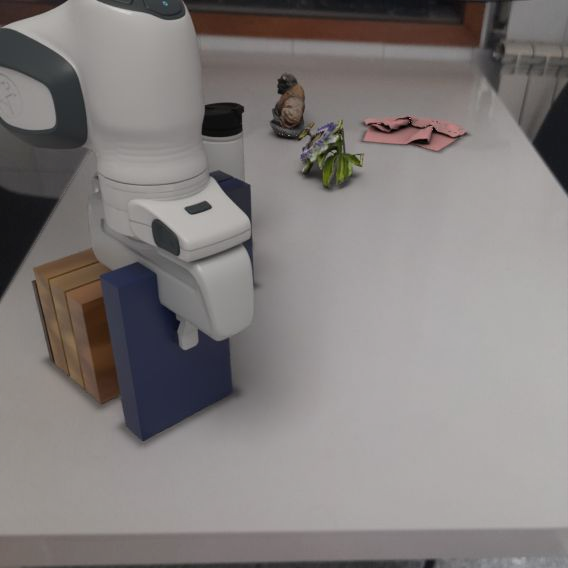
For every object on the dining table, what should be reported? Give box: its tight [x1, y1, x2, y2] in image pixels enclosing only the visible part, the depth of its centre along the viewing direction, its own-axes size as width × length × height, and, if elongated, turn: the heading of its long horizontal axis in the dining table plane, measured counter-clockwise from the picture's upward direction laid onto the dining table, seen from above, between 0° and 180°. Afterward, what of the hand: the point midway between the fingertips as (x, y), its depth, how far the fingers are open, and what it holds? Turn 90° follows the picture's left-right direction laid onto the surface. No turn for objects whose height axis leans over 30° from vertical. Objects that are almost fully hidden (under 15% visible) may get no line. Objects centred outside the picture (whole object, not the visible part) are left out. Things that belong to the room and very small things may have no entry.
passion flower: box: [297, 118, 365, 190], centre depth 124 cm, size 11×11×12 cm
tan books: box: [31, 247, 121, 405], centre depth 76 cm, size 10×11×12 cm
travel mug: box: [202, 101, 246, 182], centre depth 97 cm, size 6×7×20 cm
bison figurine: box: [269, 71, 306, 138], centre depth 141 cm, size 12×7×10 cm, turn 5°
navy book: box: [100, 262, 234, 442], centre depth 68 cm, size 3×11×17 cm, turn 136°
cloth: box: [363, 115, 468, 152], centre depth 146 cm, size 20×22×2 cm
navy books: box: [209, 170, 255, 287], centre depth 89 cm, size 7×11×14 cm
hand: (172, 335), depth 68 cm, fingers closed on navy book, 3 cm apart
